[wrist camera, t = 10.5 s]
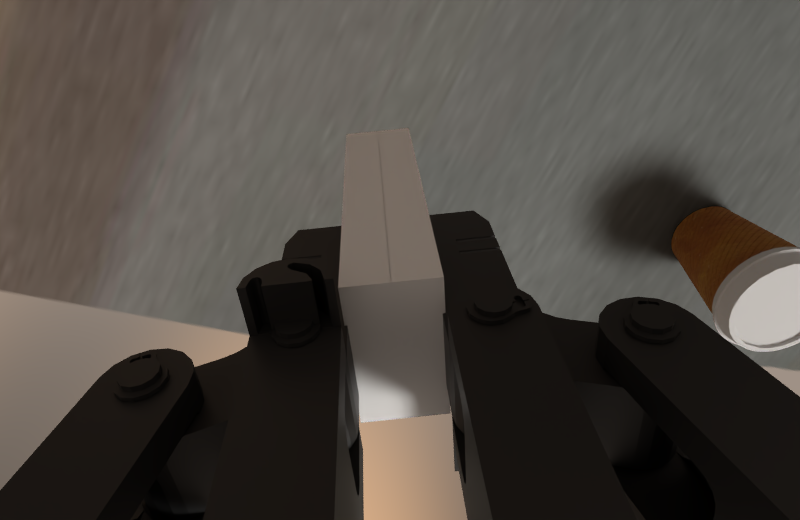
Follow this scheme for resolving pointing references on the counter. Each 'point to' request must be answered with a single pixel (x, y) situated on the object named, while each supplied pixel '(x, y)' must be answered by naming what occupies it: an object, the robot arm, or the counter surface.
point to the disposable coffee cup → (742, 277)
